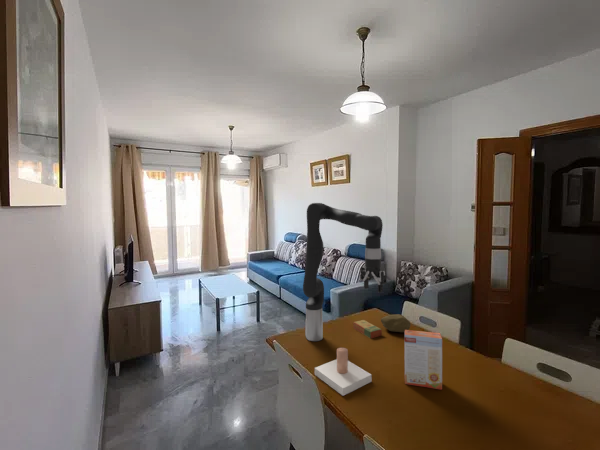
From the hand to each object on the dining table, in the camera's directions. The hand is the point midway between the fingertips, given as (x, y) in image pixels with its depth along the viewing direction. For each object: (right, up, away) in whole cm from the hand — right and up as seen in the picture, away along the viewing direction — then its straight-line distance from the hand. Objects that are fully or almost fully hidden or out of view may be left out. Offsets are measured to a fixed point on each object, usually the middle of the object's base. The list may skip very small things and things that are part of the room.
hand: (373, 290), depth 143 cm
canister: (-18, -30, -18) cm, 39 cm away
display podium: (-18, -33, -18) cm, 42 cm away
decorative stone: (+20, -31, +28) cm, 46 cm away
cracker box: (+15, -33, -22) cm, 43 cm away
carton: (+4, -31, +28) cm, 42 cm away
